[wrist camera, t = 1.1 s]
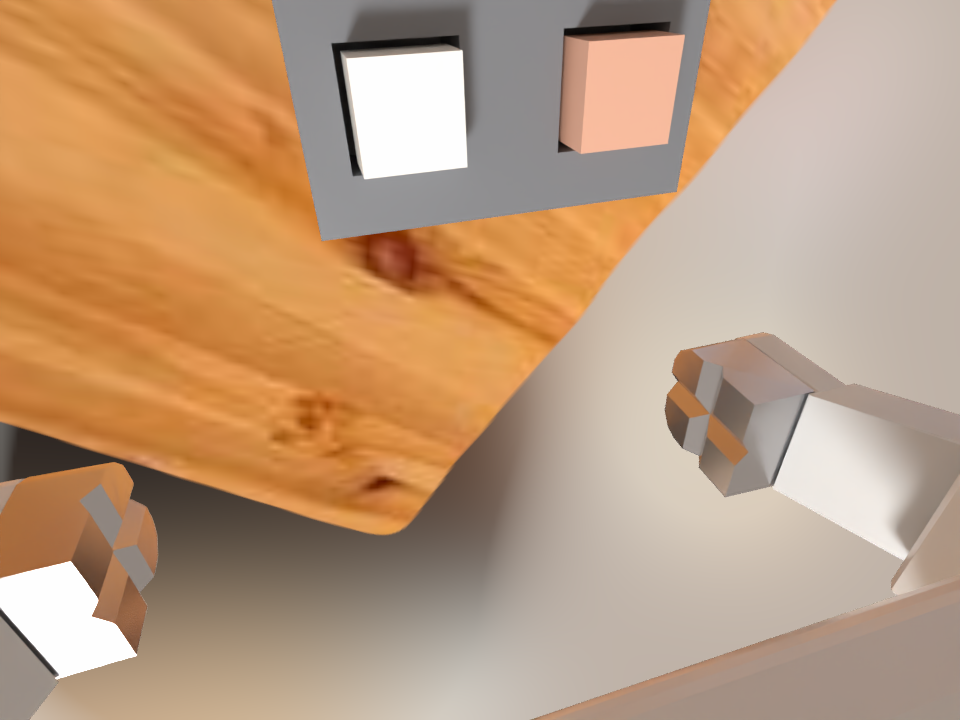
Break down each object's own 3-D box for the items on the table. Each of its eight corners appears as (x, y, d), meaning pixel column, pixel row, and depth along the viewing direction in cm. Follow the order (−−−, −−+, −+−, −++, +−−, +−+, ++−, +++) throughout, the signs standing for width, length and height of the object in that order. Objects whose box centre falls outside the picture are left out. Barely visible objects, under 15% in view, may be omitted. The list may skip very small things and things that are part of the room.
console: (265, -41, 26) (263, -43, 22) (663, -53, 31) (720, -57, 27) (316, 208, 33) (321, 240, 29) (634, 168, 37) (676, 191, 34)
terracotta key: (562, 35, 28) (589, 41, 25) (651, 29, 29) (685, 34, 26) (557, 140, 31) (580, 153, 28) (638, 131, 32) (667, 143, 29)
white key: (340, 50, 25) (346, 58, 23) (446, 43, 26) (462, 50, 24) (357, 162, 28) (364, 179, 26) (452, 151, 29) (467, 167, 27)
